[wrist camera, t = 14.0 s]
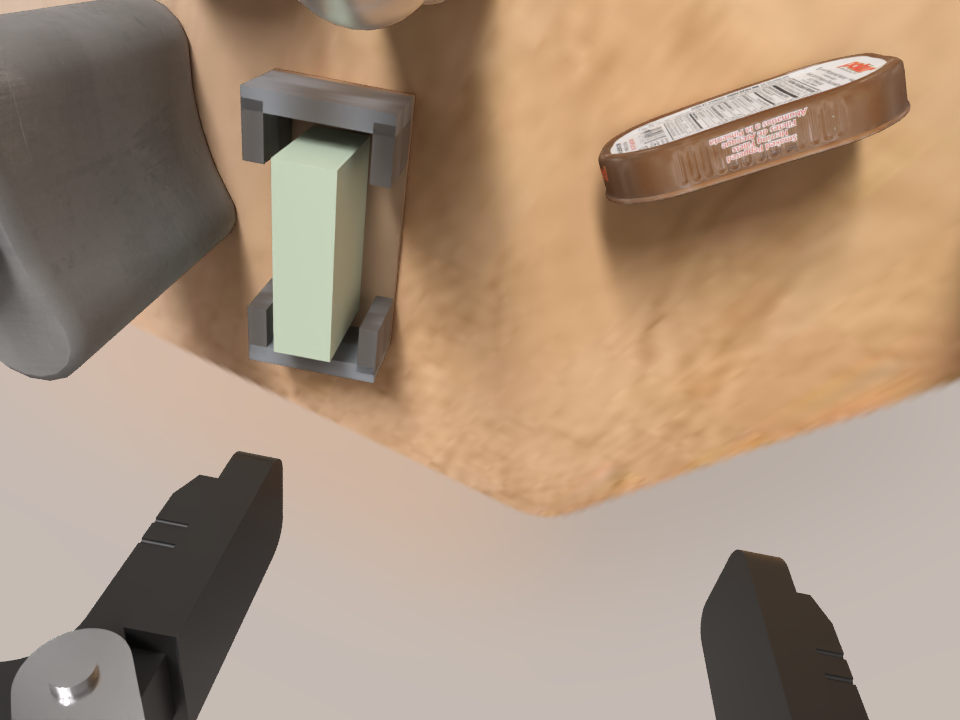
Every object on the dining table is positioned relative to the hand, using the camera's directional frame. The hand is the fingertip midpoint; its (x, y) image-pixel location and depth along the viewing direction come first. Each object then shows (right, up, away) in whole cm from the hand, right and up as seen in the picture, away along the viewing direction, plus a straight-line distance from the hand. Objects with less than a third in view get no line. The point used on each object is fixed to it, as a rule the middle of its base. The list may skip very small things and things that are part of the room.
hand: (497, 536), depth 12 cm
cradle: (-10, +12, +33) cm, 36 cm away
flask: (-20, +18, +31) cm, 41 cm away
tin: (+14, +17, +27) cm, 35 cm away
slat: (-10, +12, +32) cm, 36 cm away
